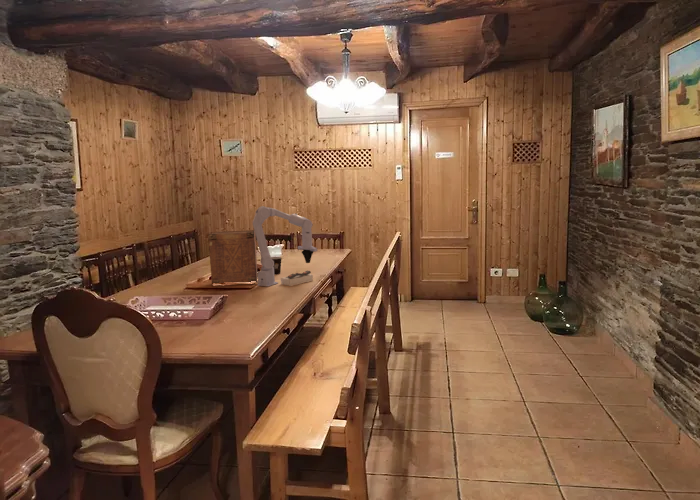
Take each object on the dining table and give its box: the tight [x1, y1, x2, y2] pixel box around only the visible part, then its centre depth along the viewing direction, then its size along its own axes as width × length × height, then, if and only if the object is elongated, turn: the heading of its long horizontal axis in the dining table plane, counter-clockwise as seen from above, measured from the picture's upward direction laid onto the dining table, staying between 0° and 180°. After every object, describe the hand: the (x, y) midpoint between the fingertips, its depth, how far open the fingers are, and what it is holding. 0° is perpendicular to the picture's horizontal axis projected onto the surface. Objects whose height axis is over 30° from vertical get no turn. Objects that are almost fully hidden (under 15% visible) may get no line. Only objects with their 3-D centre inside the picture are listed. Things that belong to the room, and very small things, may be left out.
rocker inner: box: [287, 273, 296, 279], centre depth 290 cm, size 4×3×1 cm
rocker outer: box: [301, 270, 311, 275], centre depth 298 cm, size 4×3×1 cm
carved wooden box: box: [207, 229, 258, 284], centre depth 295 cm, size 25×9×30 cm, turn 96°
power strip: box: [280, 273, 314, 287], centre depth 295 cm, size 17×8×4 cm, turn 137°
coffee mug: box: [261, 256, 282, 276], centre depth 322 cm, size 12×9×10 cm
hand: (308, 262), depth 298 cm, fingers closed
